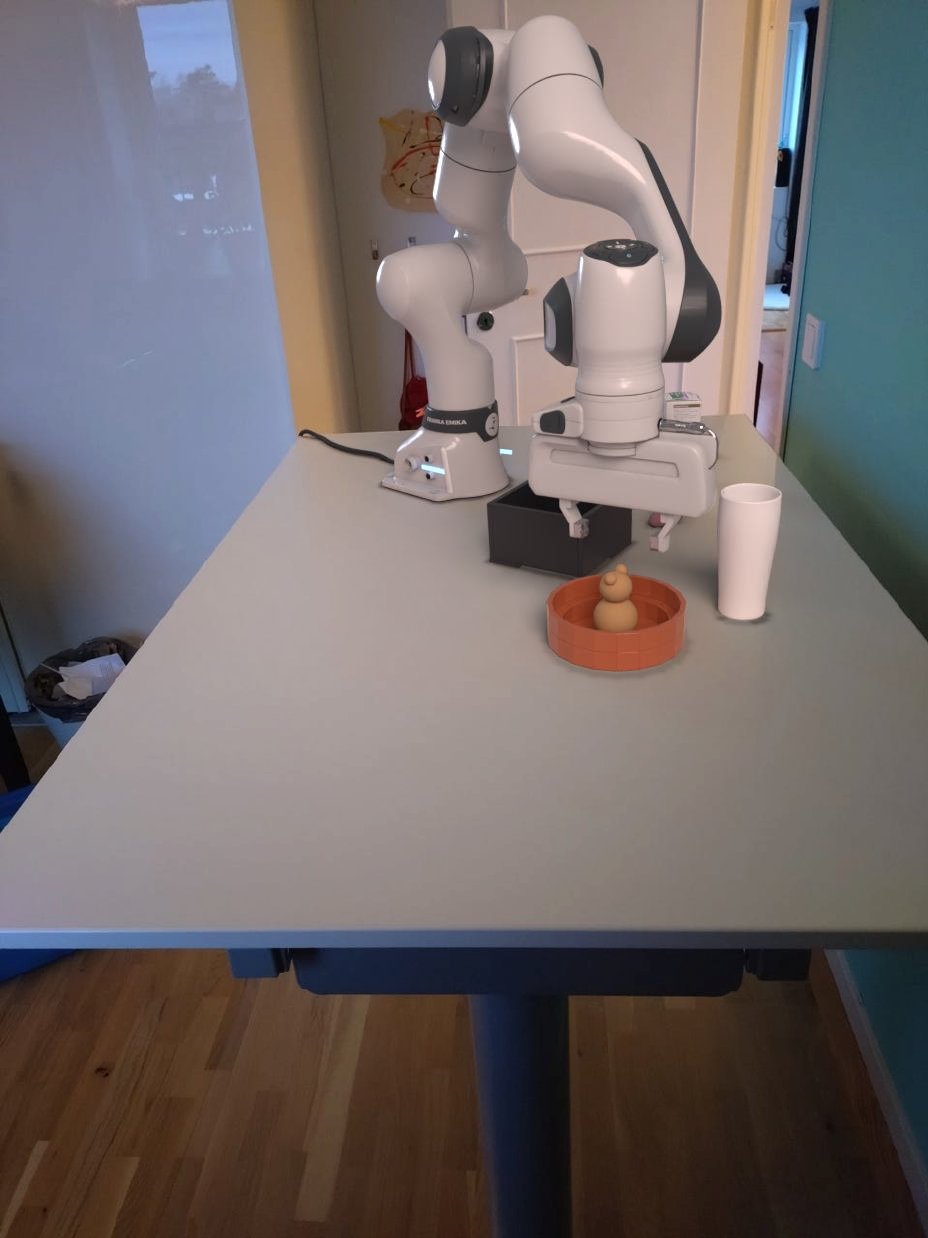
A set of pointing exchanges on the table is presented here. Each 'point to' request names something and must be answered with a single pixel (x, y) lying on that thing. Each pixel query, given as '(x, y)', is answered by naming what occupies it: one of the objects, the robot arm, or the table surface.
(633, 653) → the bowl
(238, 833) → the table surface
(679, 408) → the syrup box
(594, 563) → the bin
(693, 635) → the table surface
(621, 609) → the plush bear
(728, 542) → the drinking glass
